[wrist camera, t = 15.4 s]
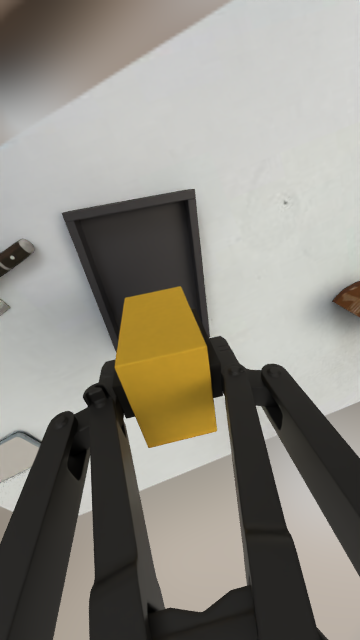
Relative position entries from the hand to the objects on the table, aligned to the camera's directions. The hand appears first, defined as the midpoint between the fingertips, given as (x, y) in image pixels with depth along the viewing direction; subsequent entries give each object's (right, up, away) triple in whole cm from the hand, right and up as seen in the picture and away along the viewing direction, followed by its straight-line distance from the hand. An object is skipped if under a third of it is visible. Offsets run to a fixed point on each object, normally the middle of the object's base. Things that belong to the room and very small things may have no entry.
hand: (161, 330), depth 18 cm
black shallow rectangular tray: (-2, +6, +9) cm, 12 cm away
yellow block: (0, 0, +1) cm, 1 cm away
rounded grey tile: (-29, -24, +21) cm, 43 cm away
